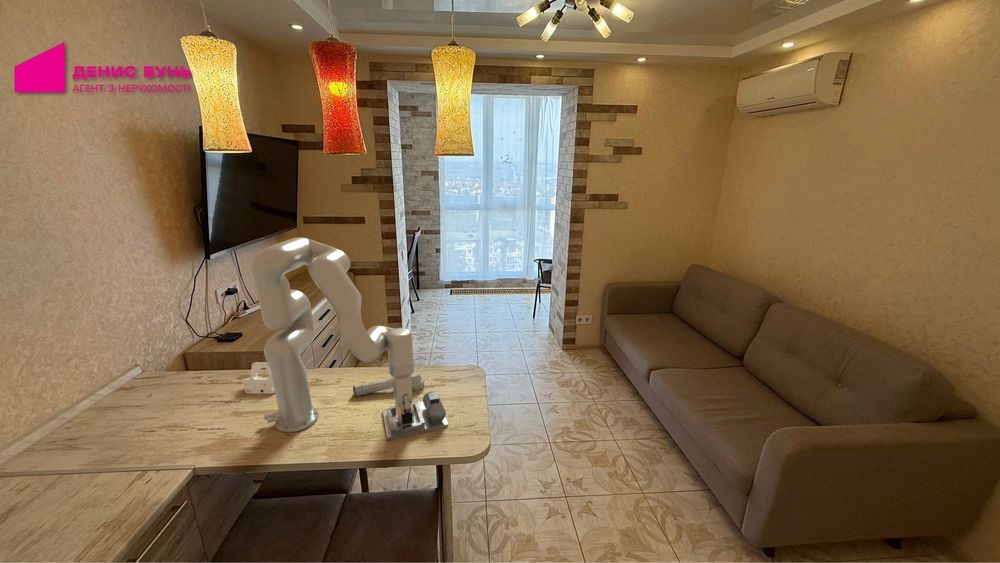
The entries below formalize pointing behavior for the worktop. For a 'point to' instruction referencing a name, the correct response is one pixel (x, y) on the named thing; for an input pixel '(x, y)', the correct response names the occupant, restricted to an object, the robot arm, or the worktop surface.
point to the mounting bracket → (259, 380)
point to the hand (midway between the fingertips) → (405, 414)
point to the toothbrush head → (386, 385)
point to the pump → (399, 416)
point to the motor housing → (417, 418)
